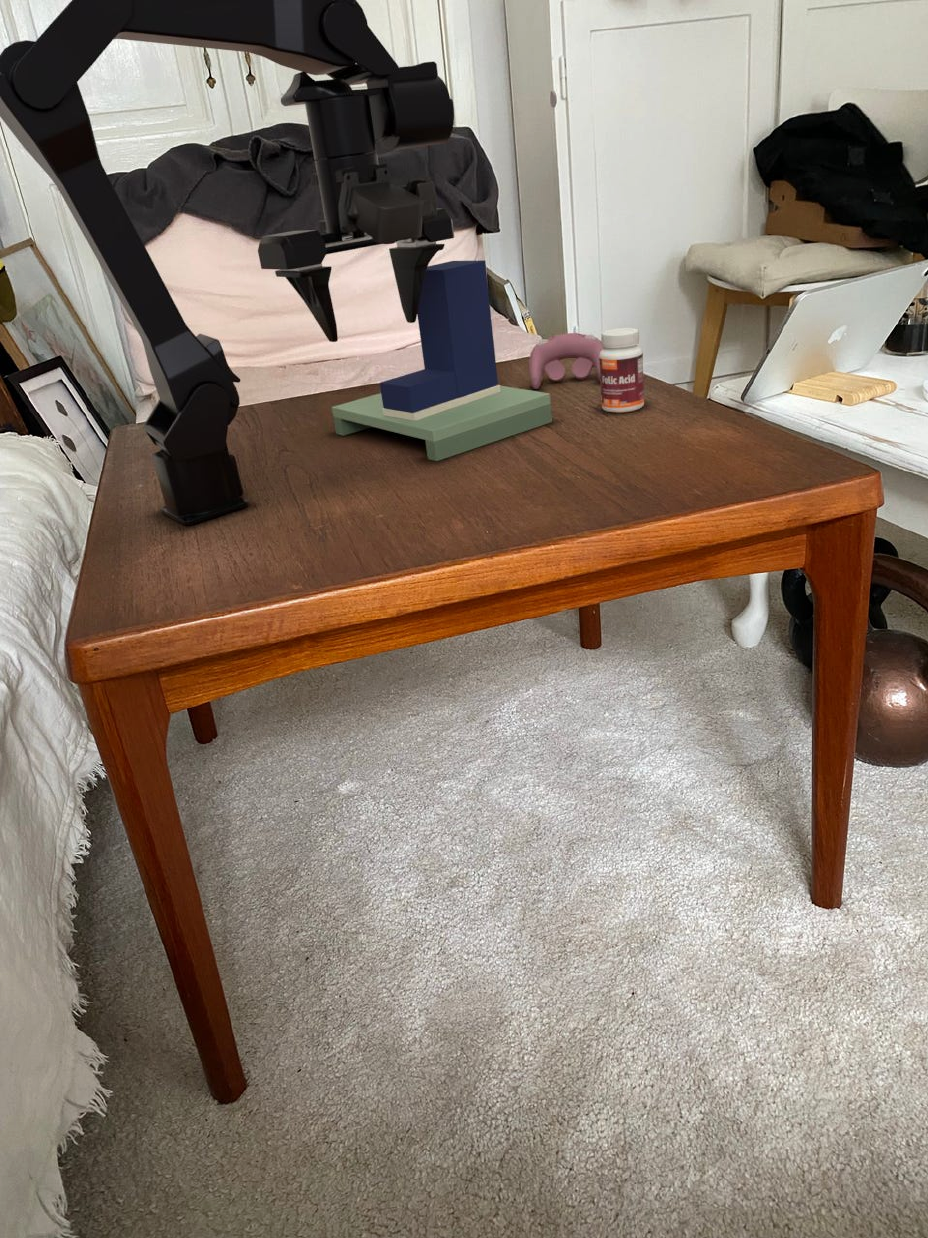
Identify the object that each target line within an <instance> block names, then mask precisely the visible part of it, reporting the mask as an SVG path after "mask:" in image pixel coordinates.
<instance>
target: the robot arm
mask: <svg viewBox="0 0 928 1238" xmlns="http://www.w3.org/2000/svg"><path fill="white" fill-rule="evenodd" d="M114 40H124V41H125V40H126V41H133V42H134V41H135V42H143V43H155V44H162V45H163V44H166V45H174V46H183V47H184V46H185V47H192V48H203V49H204V48H205V49H212V50H213V49H214V50H222V51H232V52H243V53H250V54H253V55H256V56H260V57H262V58H265V59H267V60H269V61H271V62H274V63H275V64H277V65H279V66H282V67H286V68H287V69H293V70H295V71H297V72H298V71H299V72H298V73H295V74H294V75H293V78H292V81H291V83H290V85H289V87H288V88H287V90H286V91H285V93H284V94H283V96H281V97H280V103H281V105H282V106H284V107H292V106H302V105H304V106H305V112H306V117H307V123H308V128H309V129H308V130H309V135H310V136H309V137H310V142H311V147H312V152H313V153H312V154H313V159H314V165H315V170H316V172H313V173H309V178H310V183H311V186H318V187H319V194H320V199H321V206H322V212H323V218H324V220H318V221H317V223H318V229H319V230H318V229H311V230H310V229H307V230H292V231H286V232H285V231H284V232H280V233H274V234H268V235H262V236H261V238H260V240H259V243H258V248H257V253H258V258H259V264H260V269H261V270H275V271H274V273H275V276H276V277H277V278H285V279H286V280H287V282H288V283H289V284H290V285H291V286H292V288H293V289H294V291H295V292H296V293H297V294H298V295H299V297H300V298H301V300H302V301H303V302H304V304H305V305H306V306H307V308H308V310H309V311H310V313H311V315H312V316H313V318H314V319H315V321H316V322H317V324H318V325H319V327H320V329H321V330H322V332H323V334H324V335H325V337H326V338H327V340H328V341H329V342H330V343H336V342H338V339H339V337H338V336H339V335H338V326H337V321H336V320H337V319H336V315H335V311H334V310H335V309H334V305H333V301H332V295H331V291H330V284H329V283H330V278H331V274H332V269H333V268H332V266H328V265H327V266H323V261H324V260H325V257H326V256H327V255H331V254H337V253H342V252H347V251H352V250H359V249H363V248H369V247H373V246H379V245H392V244H395V243H396V247H390V248H389V249H388V251H389V257H390V259H391V261H390V262H391V265H392V269H393V273H394V278H395V283H396V288H397V291H398V297H399V300H400V304H401V308H402V312H403V314H404V317H405V320H406V322H407V323H408V324H414V323H416V321H417V318H418V316H417V312H418V307H419V302H420V296H421V291H422V286H423V281H424V277H425V273H426V270H427V267H428V266H429V264H430V263H431V261H432V259H433V258H434V257H435V256H436V254H437V253H438V252H439V251H443V250H444V248H445V243H437V242H440V241H446V240H451V239H454V238H455V231H454V222H453V219H452V217H451V215H450V214H449V213H448V211H447V210H446V209H445V207H441V208H439V207H438V199H437V193H436V187H435V183H434V181H433V180H431V179H429V178H427V177H426V176H423V177H417V178H411V179H409V180H408V181H407V183H406V184H404V185H395V184H393V182H392V180H391V172H390V169H389V168H388V164H387V163H380V164H379V158H378V151H377V143H376V141H380V142H381V144H382V146H383V147H384V148H385V149H386V150H388V151H397V150H405V149H412V148H413V149H414V148H419V147H427V146H428V147H429V146H434V145H442V144H445V143H447V142H448V141H449V139H450V138H451V136H452V133H453V130H454V124H455V107H454V100H453V98H451V96H450V92H449V90H448V87H447V85H446V83H445V81H444V80H443V78H441V77H440V76H439V72H438V64H437V63H436V61H425V62H420V63H417V64H414V65H408V66H399V65H398V64H397V62H396V61H395V59H394V58H393V57H392V56H391V54H390V53H389V51H388V50H387V49H386V48H385V46H384V45H383V43H382V42H381V41H380V40H379V39H378V37H377V36H376V35H375V33H374V32H373V30H372V29H371V27H369V24H368V19H367V17H366V14H365V12H364V9H363V7H362V5H360V4H359V2H358V1H357V0H71V1H70V2H69V3H68V4H67V5H66V6H65V7H64V9H62V11H61V12H60V13H59V14H58V15H57V16H56V18H55V19H53V21H52V22H51V24H49V25H48V27H47V28H46V29H45V30H44V31H43V32H42V33H41V34H40V36H38V38H37V39H36V40H35V41H33V40H28V39H26V40H20V41H15V42H13V43H11V44H10V45H8V46H7V47H5V48H4V49H3V50H2V51H1V53H0V118H1V120H2V121H3V122H4V124H5V125H6V127H7V128H8V129H9V130H10V132H11V133H12V134H13V136H14V137H15V138H16V139H17V141H18V142H19V143H20V145H21V146H22V147H23V149H25V151H26V152H27V153H28V154H29V155H30V157H32V159H33V160H34V161H35V162H36V163H37V164H38V166H40V168H41V169H42V170H43V172H45V173H46V174H47V177H49V178H50V179H51V180H52V182H53V183H54V184H55V186H56V189H57V190H58V192H59V193H60V195H61V197H62V199H63V200H64V202H65V204H66V206H67V208H68V210H69V211H70V213H71V216H72V217H73V219H74V221H75V222H76V224H77V226H78V227H79V230H80V231H81V234H82V235H83V237H84V238H85V240H86V242H87V244H88V245H89V247H90V249H91V251H92V253H93V254H94V256H95V258H96V260H97V262H98V263H99V265H100V267H101V269H102V270H103V272H104V274H105V276H106V278H107V279H108V281H109V283H110V285H111V287H112V288H113V290H114V292H115V294H116V296H117V298H118V300H119V301H120V303H121V305H122V306H123V308H124V310H125V312H126V314H127V315H128V317H129V319H130V320H131V321H130V322H132V324H133V326H134V328H135V329H136V331H137V333H138V335H139V337H140V339H141V342H142V345H143V348H144V352H145V356H146V361H147V364H148V368H149V372H150V376H151V378H152V381H153V383H154V386H155V389H156V392H157V395H158V397H159V400H158V401H157V403H156V404H155V406H154V408H153V409H152V411H151V412H150V414H149V415H148V417H147V419H146V420H145V422H144V424H143V426H142V429H143V430H144V432H145V434H146V435H147V437H148V438H149V439H150V441H151V442H152V444H153V445H154V446H156V447H159V448H160V450H158V451H155V452H153V453H151V458H152V461H153V464H154V468H155V472H156V476H157V479H158V483H159V487H160V491H161V494H162V498H163V502H164V505H163V506H161V507H160V508H159V509H160V513H161V514H163V515H165V516H167V517H168V518H171V519H172V520H174V521H175V522H178V523H180V524H181V525H183V526H190V525H194V524H198V523H200V522H203V521H206V520H210V519H212V518H215V517H219V516H222V515H225V514H228V513H230V512H233V511H236V510H240V509H243V508H246V507H248V506H249V503H248V500H247V499H245V498H243V495H244V489H243V486H242V480H241V476H240V472H239V468H238V465H237V459H236V455H234V454H233V453H231V452H230V451H229V447H228V443H227V439H228V432H229V431H228V429H229V425H231V424H232V422H233V421H234V419H235V417H237V413H238V411H239V410H238V409H239V406H240V395H239V392H238V389H237V386H236V385H235V383H237V384H238V383H239V384H240V382H241V379H240V377H239V376H238V375H236V374H235V373H234V372H233V370H232V369H231V367H230V366H229V363H228V361H227V358H226V354H225V351H224V348H223V347H222V345H221V342H220V340H219V339H217V338H214V337H213V336H212V337H211V336H209V335H206V334H204V333H198V334H197V335H195V333H194V332H193V331H192V330H191V329H190V328H189V326H188V325H187V323H186V322H185V320H184V318H183V316H182V314H181V312H180V310H179V309H178V307H177V305H176V303H175V301H174V299H173V297H172V296H171V294H170V291H169V289H168V288H167V286H166V284H165V282H164V280H163V278H162V276H161V274H160V272H159V271H158V269H157V267H156V265H155V263H154V260H153V259H152V257H151V255H150V254H149V251H148V249H147V248H146V246H145V244H144V242H143V240H142V238H141V236H140V235H139V233H138V231H137V229H136V227H135V225H134V223H133V221H132V220H131V218H130V215H129V214H128V212H127V210H126V207H125V206H124V204H123V202H122V200H121V198H120V197H119V194H118V193H117V190H116V189H115V187H114V185H113V183H112V181H111V179H110V177H109V175H108V174H107V171H106V170H105V168H104V166H103V163H102V160H101V158H100V155H99V151H98V146H97V143H96V142H97V141H96V139H95V138H96V137H95V134H94V131H93V127H92V122H91V119H90V115H89V112H88V110H87V107H86V104H85V101H84V98H83V95H82V92H81V90H80V87H79V83H78V82H79V81H80V80H81V79H82V77H83V76H84V75H85V74H86V73H87V72H88V71H89V69H90V68H91V67H92V66H93V65H94V63H95V62H96V61H97V60H98V59H99V57H101V55H102V54H103V52H104V51H105V50H106V49H107V48H108V46H109V45H110V44H111V43H112V41H114ZM310 75H312V76H323V75H326V76H328V77H330V78H331V79H322V80H321V79H320V80H315V79H314V78H313V77H311V76H310ZM363 84H365V85H366V88H362V89H360V88H359V89H353V88H352V87H351V86H358V85H363ZM350 233H351V235H350ZM349 235H350V236H349ZM343 236H344V237H343Z"/></svg>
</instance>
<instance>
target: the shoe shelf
mask: <svg viewBox="0 0 928 1238" xmlns="http://www.w3.org/2000/svg"><path fill="white" fill-rule="evenodd" d="M551 402H552V401H551V393H549V392H543V391H538V390H537V391H536V390H530V389H524V388H519V387H518V388H517V387H512V386H505V385H500V392H499V393H496V394H493V395H490V396H487V397H484V398H481V399H478V400H475V401H472V402H470V403H467V404H464V405H461V406H458V407H455V408H452V409H449V410H446V411H443V412H440V413H437V414H434V415H432V416H429V417H426V418H423V419H420V420H417V421H413V420H407V419H401V418H396V417H390V416H384V415H383V412H382V408H383V402H382V395H381V392H379V393H376V394H373V395H369V396H366V397H362V398H358V399H355V400H352V401H349V402H348V401H347V402H345V403H344V402H343V403H342V404H337V405H334V406H331V412H332V417H333V425H334V429H335V434H336V435H339V436H347V435H350V434H354V433H358V432H361V431H364V430H366V429H371V428H376V429H380V430H383V431H388V432H393V433H395V434H399V435H403V436H408V437H412V438H416V439H420V440H424V441H425V449H426V454H427V459H428V460H431V461H434V462H440V461H442V460H445V459H448V458H451V457H454V456H457V455H459V454H463V453H466V452H468V451H472V450H475V449H477V448H481V447H484V446H486V445H489V444H493V443H495V442H499V441H501V440H504V439H507V438H510V437H513V436H516V435H518V434H521V433H525V432H528V431H530V430H533V429H537V428H539V427H542V426H546V425H548V424H551V423H553V414H552V413H553V412H552V403H551Z"/></svg>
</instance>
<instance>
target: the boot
mask: <svg viewBox="0 0 928 1238" xmlns="http://www.w3.org/2000/svg"><path fill="white" fill-rule="evenodd" d="M488 283H489V282H488V273H487V264H486V260H451V261H446V262H441V263H436V264H433V265H428V267H427V270H426V273H425V277H424V281H423V286H422V291H421V296H420V302H419V307H418V312H417V323H418V330H419V338H420V345H421V351H422V358H423V367H424V369H421V370H417V371H414V372H410V373H407V374H404V375H401V376H397V377H393V378H391V379H387V380H383V381H381V382H379V389H380V393H381V395H382V402H383V408H382V412H383V415H384V416H390V417H396V418H401V419H407V420H413V421H417V420H420V419H423V418H426V417H429V416H432V415H434V414H437V413H440V412H443V411H446V410H449V409H452V408H455V407H458V406H461V405H464V404H467V403H470V402H472V401H475V400H478V399H481V398H484V397H487V396H490V395H493V394H496V393H499V392H500V386H501V385H500V384H499V381H498V371H497V360H496V352H495V342H494V341H495V340H494V332H493V322H492V312H491V311H492V310H491V304H490V303H491V301H490V292H489V284H488Z"/></svg>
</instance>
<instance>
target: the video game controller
mask: <svg viewBox="0 0 928 1238" xmlns="http://www.w3.org/2000/svg"><path fill="white" fill-rule="evenodd" d="M601 341H602V340H600V339H599V338H598V337H596V336H595V335H594V334H592V333H591V334H583V333H578V332H569V333H560V334H555V335H553V336H550V337H548V338H546V339H544V338H543V339H540V340H539V341H538V342H537V343H536V345H534V346H533V348H532V350H531V352H530V355H529V360H528V361H529V362H528V373H529V380H530V385H531V387H532V388H533V390H537V389H539V388H540V387H541V385H542V380H543V376H544V373H545V374H546V375H547V377H548V379H549V380H550V381H551V382H553V383H559V382H561V381H563V380H564V379H565V376H566V368H565V366H564V364H563V363H562V362H561V360H567V359H576V360H575V361H574V363H573V365H572V366H571V367H572V368H571V371H572V374H573V376H574V378H575V379H577V380H579V381H584V380H586V379H588V378H589V376H590V374H591V372H592V370H593V368H594V369H595V372H596V375H597V378H598V380H599V381H600V363H599V354H600V352H601V351H602V350H603V349H604V347H603V346H602V343H601Z"/></svg>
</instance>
